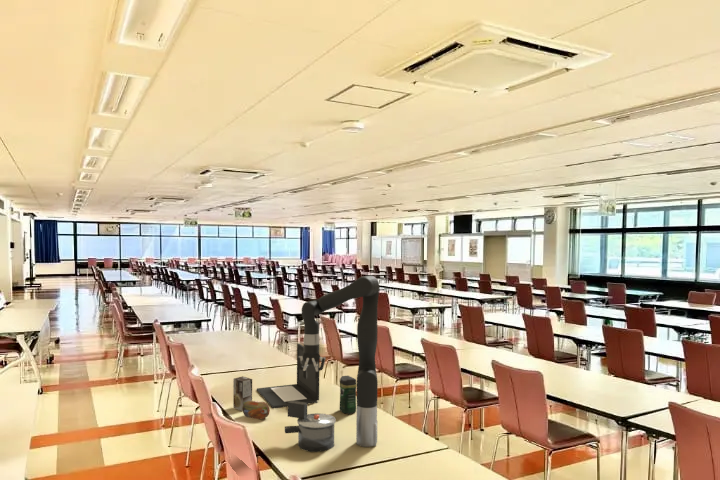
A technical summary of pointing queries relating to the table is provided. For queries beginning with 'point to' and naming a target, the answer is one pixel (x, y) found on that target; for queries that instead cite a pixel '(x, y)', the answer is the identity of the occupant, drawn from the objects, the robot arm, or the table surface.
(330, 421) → the lid
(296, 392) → the laptop
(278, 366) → the table surface
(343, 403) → the coffee jar
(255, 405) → the tin
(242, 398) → the coffee box
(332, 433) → the cooking pot
